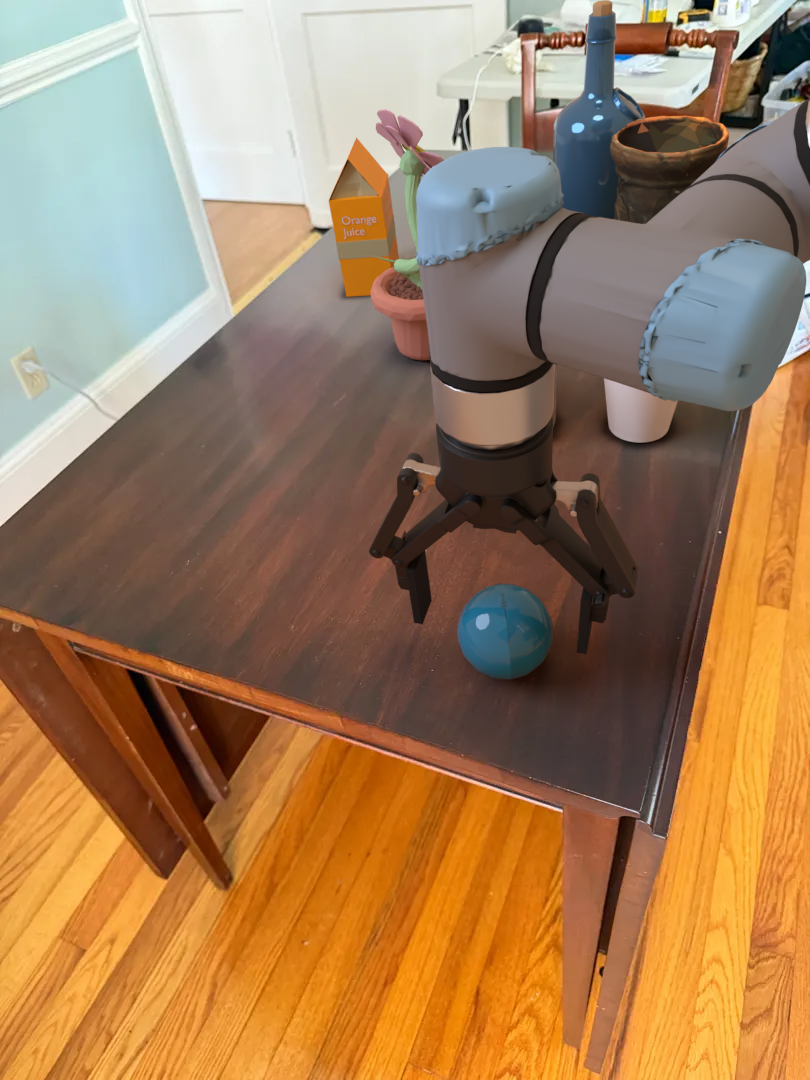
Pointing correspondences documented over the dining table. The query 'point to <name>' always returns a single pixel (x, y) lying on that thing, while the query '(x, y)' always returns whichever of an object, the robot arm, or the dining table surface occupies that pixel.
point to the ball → (505, 631)
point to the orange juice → (363, 221)
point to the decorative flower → (402, 283)
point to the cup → (637, 413)
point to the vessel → (662, 161)
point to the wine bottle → (593, 124)
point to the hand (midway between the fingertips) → (501, 625)
